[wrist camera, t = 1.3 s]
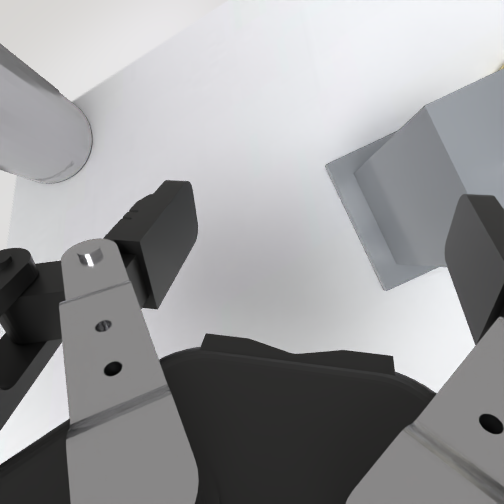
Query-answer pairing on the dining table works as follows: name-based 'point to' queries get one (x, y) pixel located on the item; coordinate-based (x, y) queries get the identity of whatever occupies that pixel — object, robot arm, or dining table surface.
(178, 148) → the dining table surface
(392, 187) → the column
